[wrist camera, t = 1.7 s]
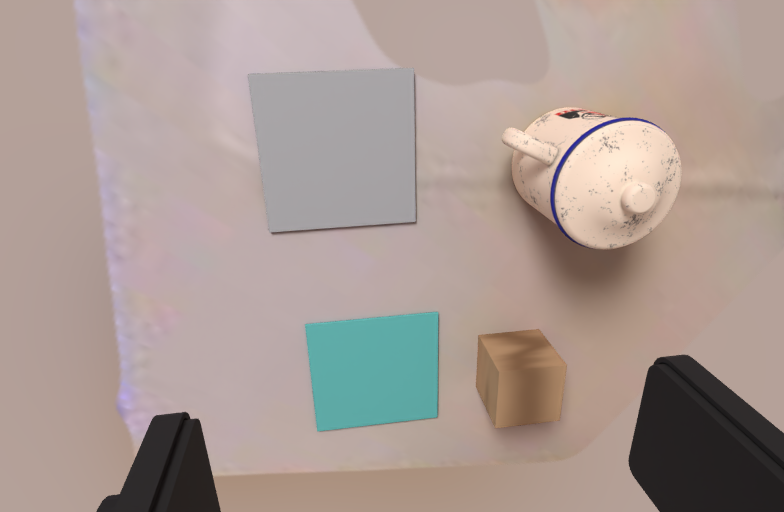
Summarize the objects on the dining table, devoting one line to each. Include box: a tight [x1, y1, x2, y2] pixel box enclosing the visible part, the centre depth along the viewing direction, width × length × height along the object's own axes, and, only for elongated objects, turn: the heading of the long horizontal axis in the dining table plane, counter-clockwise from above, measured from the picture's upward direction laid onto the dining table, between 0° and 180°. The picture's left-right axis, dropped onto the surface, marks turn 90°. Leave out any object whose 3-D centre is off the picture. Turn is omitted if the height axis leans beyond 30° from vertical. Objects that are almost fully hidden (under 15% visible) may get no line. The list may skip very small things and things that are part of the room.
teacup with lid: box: [502, 107, 681, 249], centre depth 35 cm, size 12×9×12 cm
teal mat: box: [305, 312, 438, 431], centre depth 47 cm, size 12×12×1 cm
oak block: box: [476, 329, 567, 428], centre depth 46 cm, size 6×6×6 cm
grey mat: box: [248, 68, 416, 232], centre depth 38 cm, size 12×12×1 cm
